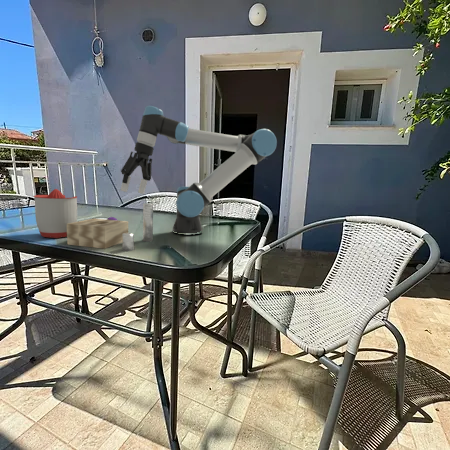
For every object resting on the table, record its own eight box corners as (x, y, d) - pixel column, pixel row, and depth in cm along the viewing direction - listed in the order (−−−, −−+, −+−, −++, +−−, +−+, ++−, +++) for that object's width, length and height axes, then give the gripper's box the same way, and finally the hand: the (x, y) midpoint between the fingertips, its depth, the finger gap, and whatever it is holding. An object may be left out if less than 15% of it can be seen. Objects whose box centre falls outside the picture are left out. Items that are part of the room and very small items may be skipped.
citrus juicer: (89, 233, 122) (88, 189, 119) (56, 241, 106) (54, 190, 102) (62, 230, 126) (60, 187, 123) (26, 236, 110) (23, 187, 106)
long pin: (154, 240, 117) (154, 203, 114) (150, 242, 113) (150, 204, 110) (145, 239, 118) (146, 203, 115) (141, 241, 114) (141, 203, 111)
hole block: (128, 239, 115) (128, 221, 113) (105, 248, 99) (105, 227, 98) (94, 236, 117) (94, 218, 116) (67, 244, 102) (66, 223, 101)
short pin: (135, 248, 101) (135, 233, 100) (130, 251, 98) (130, 235, 97) (126, 247, 102) (126, 232, 101) (120, 250, 98) (120, 234, 97)
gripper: (151, 148, 127) (140, 191, 129) (120, 134, 103) (107, 187, 105) (165, 152, 125) (153, 196, 128) (137, 138, 101) (123, 192, 104)
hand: (132, 192), depth 116 cm, fingers open, 13 cm apart
